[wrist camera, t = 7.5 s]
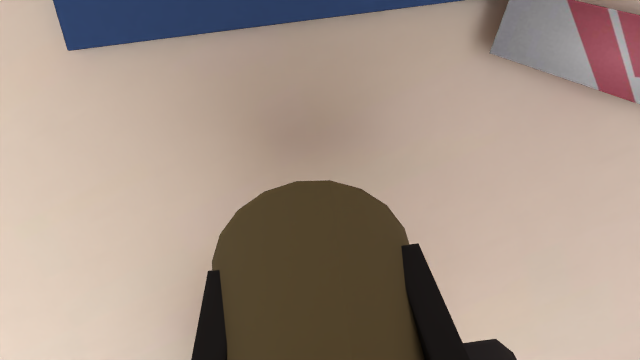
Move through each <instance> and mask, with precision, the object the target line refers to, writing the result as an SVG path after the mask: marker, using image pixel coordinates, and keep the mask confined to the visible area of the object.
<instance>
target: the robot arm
mask: <svg viewBox="0 0 640 360" xmlns="http://www.w3.org/2000/svg"><path fill="white" fill-rule="evenodd" d="M401 249H402V259H403V269H404V278H405V288H406V292H407V295H408V299H409V303H410V306H411V310H412V313H413V317H414V321H415V324H416V328H417V332H418V335H419V339H420V342H421V346H422V350H423V353H424V357H425V360H517V359H516V357H515V355H514V354H513V352H511V351H510V350H509V349H508V348H507V347H505V346H504V345H503V344H502V343H500V342H499V341H498V340H497V339H491V340H483V341H476V342H469V343H462V341H461V338H460V336H459V334H458V332H457V329H456V327H455V325H454V323H453V320H452V318H451V316H450V314H449V311H448V309H447V307H446V305H445V302H444V300H443V298H442V296H441V293H440V291H439V289H438V287H437V284H436V282H435V280H434V278H433V275H432V273H431V271H430V269H429V266H428V264H427V262H426V260H425V257H424V255H423V253H422V251H421V248H420V246H419V244H410V245H403V246H401ZM191 360H227V339H226V329H225V319H224V310H223V300H222V290H221V280H220V270H214V271H208V274H207V280H206V285H205V290H204V296H203V301H202V306H201V312H200V317H199V322H198V327H197V333H196V338H195V343H194V349H193V354H192V359H191Z"/></svg>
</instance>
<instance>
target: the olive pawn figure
mask: <svg viewBox="0 0 640 360" xmlns="http://www.w3.org/2000/svg"><path fill="white" fill-rule="evenodd" d="M403 245H409V242H408V239H407V235H406V232H405V229H404V227H403V226H402V225H401V223H400V222H399V221H398V219H397V218H396V217H395V215H394V214H393V213H392V212H391V210H390V209H389V208H388V206H387V205H385V204H384V203H382V202H381V201H379V200H377V199H376V198H374V197H373V196H371V195H370V194H368V193H367V192H365V191H364V190H362V189H359V188H356V187H352V186H348V185H345V184H341V183H337V182H334V181H330V180H329V181H296V182H293V183H290V184H287V185H284V186H281V187H277V188H274V189H271V190H268V191H265V192H263V193H262V194H260V195H259V196H258V197H256V198H255V199H253V200H252V201H250V202H249V203H248V204H246V205H245V206H243V207H242V208H240V209H239V210H238V211H237V212H236V213H235V215H234V216H233V218H232V219H231V220H230V222H229V223H228V224H227V226H226V227H225V228H224V230H223V231H222V232H221V234H220V236H219V239H218V243H217V246H216V250H215V253H214V257H213V260H212V270H213V271H214V270H220V280H221V290H222V300H223V310H224V319H225V329H226V339H227V360H425V357H424V353H423V350H422V346H421V342H420V339H419V335H418V332H417V328H416V324H415V321H414V317H413V313H412V310H411V306H410V303H409V299H408V295H407V292H406V288H405V278H404V269H403V259H402V249H401V246H403Z"/></svg>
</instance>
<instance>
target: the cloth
mask: <svg viewBox="0 0 640 360" xmlns="http://www.w3.org/2000/svg"><path fill="white" fill-rule="evenodd" d="M455 1H463V0H53V2H54V5H55V9H56V12H57V16H58V19H59V22H60V26H61V29H62V32H63V36H64V39H65V43H66V46H67V49H68V51H71V50H79V49H87V48H94V47H102V46H110V45H118V44H126V43H134V42H141V41H149V40H157V39H165V38H173V37H181V36H188V35H196V34H204V33H212V32H220V31H228V30H236V29H243V28H251V27H259V26H267V25H275V24H283V23H290V22H298V21H306V20H314V19H322V18H330V17H337V16H345V15H353V14H361V13H369V12H377V11H384V10H392V9H400V8H408V7H416V6H424V5H431V4H439V3H447V2H455Z"/></svg>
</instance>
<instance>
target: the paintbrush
mask: <svg viewBox="0 0 640 360" xmlns="http://www.w3.org/2000/svg"><path fill="white" fill-rule="evenodd" d="M490 54H493V55H496V56H499V57H502V58H505V59H508V60H511V61H514V62H517V63H520V64H523V65H526V66H529V67H532V68H534V69H537V70H540V71H543V72H546V73H549V74H552V75H555V76H558V77H561V78H564V79H567V80H570V81H573V82H576V83H579V84H581V85H584V86H587V87H590V88H593V89H596V90H599V91H602V92H605V93H608V94H611V95H614V96H617V97H620V98H623V99H626V100H629V101H631V102H634V103H637V104H640V15H636V14H632V13H627V12H623V11H619V10H614V9H610V8H605V7H601V6H597V5H592V4H588V3H584V2H579V1H575V0H509V2H508V5H507V7H506V10H505V13H504V15H503V18H502V21H501V23H500V26H499V29H498V31H497V34H496V37H495V40H494V42H493V45H492V48H491V50H490Z"/></svg>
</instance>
